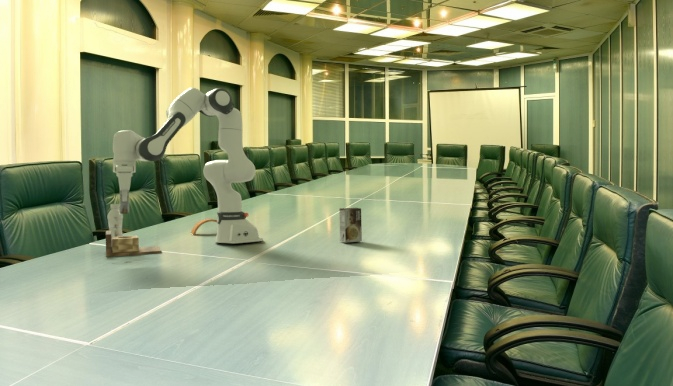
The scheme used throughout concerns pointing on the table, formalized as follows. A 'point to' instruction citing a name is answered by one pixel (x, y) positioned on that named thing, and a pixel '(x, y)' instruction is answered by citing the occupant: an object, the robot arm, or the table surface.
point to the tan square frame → (125, 244)
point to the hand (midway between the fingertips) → (124, 201)
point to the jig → (141, 251)
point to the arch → (201, 224)
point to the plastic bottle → (115, 221)
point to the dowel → (124, 204)
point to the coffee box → (350, 225)
